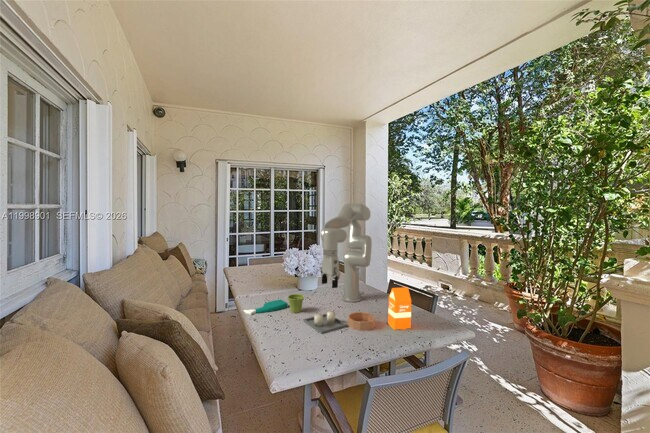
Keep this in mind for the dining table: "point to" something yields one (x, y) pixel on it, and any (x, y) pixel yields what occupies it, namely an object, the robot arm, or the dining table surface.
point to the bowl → (361, 321)
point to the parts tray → (325, 324)
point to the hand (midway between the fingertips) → (329, 285)
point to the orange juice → (399, 308)
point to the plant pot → (295, 302)
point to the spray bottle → (269, 307)
